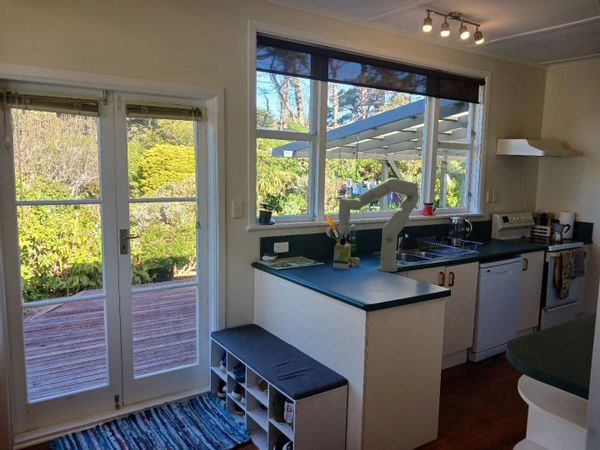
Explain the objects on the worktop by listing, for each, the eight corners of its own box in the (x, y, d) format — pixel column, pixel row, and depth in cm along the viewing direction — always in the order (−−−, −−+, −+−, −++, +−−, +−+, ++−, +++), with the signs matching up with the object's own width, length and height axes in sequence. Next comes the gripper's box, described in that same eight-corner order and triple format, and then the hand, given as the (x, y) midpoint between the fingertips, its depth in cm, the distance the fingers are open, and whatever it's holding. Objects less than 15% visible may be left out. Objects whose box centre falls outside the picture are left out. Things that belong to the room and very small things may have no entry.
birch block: (356, 264, 309) (356, 257, 308) (359, 266, 304) (359, 258, 303) (349, 264, 308) (350, 257, 307) (352, 266, 303) (352, 258, 302)
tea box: (348, 269, 292) (349, 247, 291) (332, 268, 294) (333, 245, 293) (350, 264, 307) (351, 243, 305) (335, 263, 309) (336, 242, 307)
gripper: (353, 218, 290) (351, 246, 293) (346, 215, 305) (344, 242, 307) (342, 218, 289) (340, 246, 291) (335, 215, 303) (333, 242, 305)
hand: (342, 244), depth 299 cm, fingers closed
